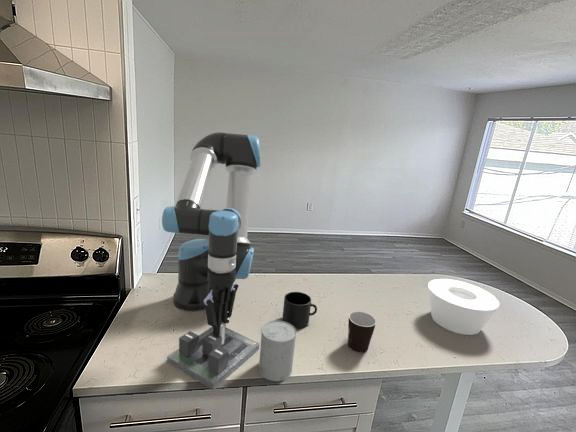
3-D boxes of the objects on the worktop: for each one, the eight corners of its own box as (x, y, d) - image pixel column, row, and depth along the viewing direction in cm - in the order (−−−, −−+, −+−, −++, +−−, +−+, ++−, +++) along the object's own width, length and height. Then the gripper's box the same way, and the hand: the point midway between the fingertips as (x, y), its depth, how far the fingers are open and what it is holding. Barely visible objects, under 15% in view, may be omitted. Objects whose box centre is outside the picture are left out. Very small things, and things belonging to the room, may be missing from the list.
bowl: (486, 316, 132) (494, 289, 129) (495, 349, 110) (504, 318, 107) (423, 299, 141) (429, 273, 138) (420, 326, 120) (426, 297, 117)
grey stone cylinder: (258, 356, 96) (261, 320, 93) (290, 357, 97) (294, 321, 94) (258, 381, 87) (261, 341, 84) (294, 381, 88) (298, 342, 85)
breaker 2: (202, 353, 92) (202, 338, 91) (212, 345, 96) (212, 331, 95) (211, 358, 91) (212, 343, 90) (221, 350, 94) (221, 336, 93)
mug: (318, 329, 112) (321, 305, 110) (283, 328, 111) (285, 304, 109) (313, 314, 121) (315, 292, 119) (281, 313, 120) (283, 291, 118)
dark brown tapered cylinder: (366, 358, 100) (371, 330, 97) (340, 347, 104) (344, 319, 101) (377, 340, 109) (382, 313, 107) (353, 330, 114) (357, 304, 111)
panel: (167, 362, 91) (167, 356, 90) (216, 328, 108) (217, 323, 107) (213, 390, 83) (213, 383, 82) (259, 349, 100) (259, 343, 99)
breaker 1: (179, 351, 92) (179, 337, 91) (189, 344, 95) (190, 330, 94) (187, 356, 90) (188, 342, 89) (198, 349, 94) (198, 335, 93)
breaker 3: (208, 368, 87) (208, 353, 86) (218, 360, 90) (218, 345, 89) (218, 374, 85) (218, 358, 84) (228, 365, 89) (228, 350, 87)
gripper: (216, 280, 82) (213, 360, 88) (247, 264, 93) (242, 336, 99) (194, 271, 85) (192, 349, 91) (226, 257, 96) (223, 327, 102)
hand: (218, 342), depth 95 cm, fingers closed
